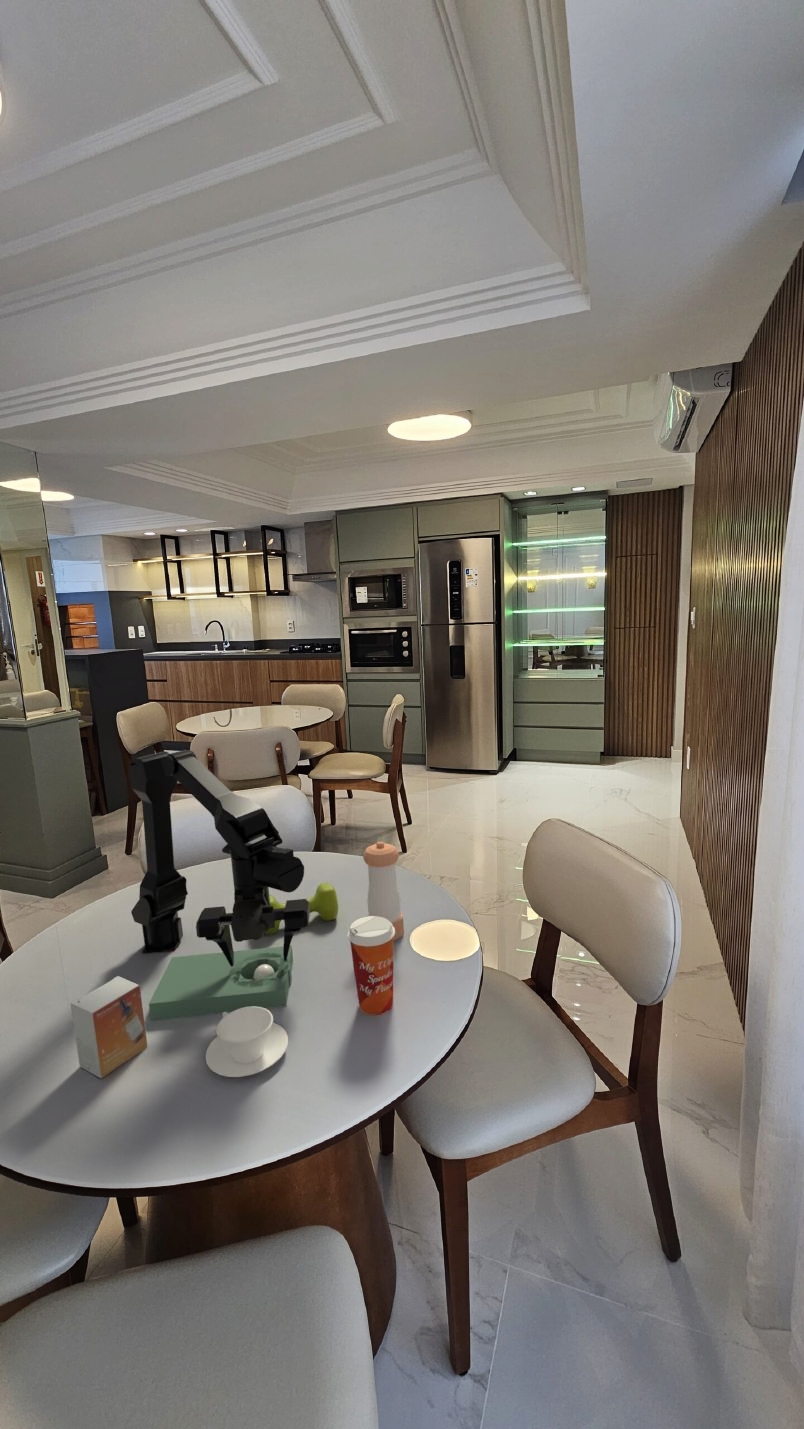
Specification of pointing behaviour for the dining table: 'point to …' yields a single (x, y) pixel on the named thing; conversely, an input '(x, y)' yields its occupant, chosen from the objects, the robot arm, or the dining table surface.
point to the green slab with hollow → (221, 983)
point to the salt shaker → (384, 885)
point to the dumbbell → (314, 904)
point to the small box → (109, 1026)
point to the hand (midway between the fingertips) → (259, 962)
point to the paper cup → (373, 963)
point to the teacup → (246, 1043)
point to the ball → (263, 972)
